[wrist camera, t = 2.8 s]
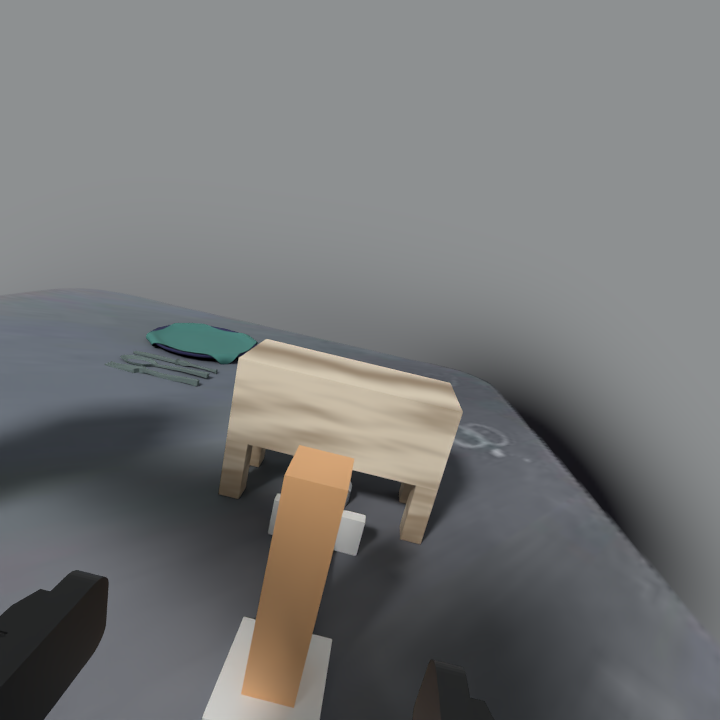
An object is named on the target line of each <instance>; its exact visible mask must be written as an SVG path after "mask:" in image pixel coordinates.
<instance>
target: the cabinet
mask: <svg viewBox="0 0 720 720" xmlns="http://www.w3.org/2000/svg"><path fill="white" fill-rule="evenodd" d="M462 413H463V411H462V409H461V407H460V405H459V402H458V400H457V398H456V395H455V393H454V391H453V388H452V386H451V384H450V383H448V382H443V381H439V380H435V379H431V378H427V377H423V376H418V375H414V374H410V373H406V372H402V371H398V370H394V369H389V368H385V367H381V366H377V365H373V364H369V363H364V362H360V361H356V360H352V359H348V358H344V357H339V356H335V355H331V354H327V353H323V352H319V351H315V350H310V349H306V348H302V347H298V346H294V345H290V344H285V343H281V342H277V341H273V340H269V339H266V340H264V341H263V342H261V343H260V344H258V345H257V346H255V347H254V348H252V349H251V350H250V351H248V352H247V353H245V354H244V355H242V356H241V357H239V359H238V366H237V373H236V379H235V386H234V393H233V400H232V406H231V413H230V420H229V426H228V433H227V440H226V447H225V453H224V460H223V467H222V473H221V480H220V487H219V493H218V494H220V495H224V496H228V497H232V498H236V499H239V497H240V496H241V494H242V493H243V491H244V490H245V488H246V483H247V477H248V471H249V465H251V466H255V467H259V466H260V464H261V462H262V461H263V459H264V456H265V450H266V449H269V450H273V451H277V452H281V453H285V454H289V455H293V456H294V455H295V453H296V451H297V449H298V447H299V445H302V446H306V447H310V448H314V449H318V450H322V451H326V452H330V453H334V454H338V455H342V456H347V457H351V458H354V464H353V469H352V470H354V471H358V472H362V473H367V474H371V475H375V476H379V477H383V478H387V479H391V480H395V481H399V482H402V483H401V487H400V490H399V502H401V503H405V504H406V507H405V510H404V513H403V517H402V520H401V523H400V539H401V540H405V541H409V542H413V543H417V544H421V541H422V538H423V535H424V532H425V529H426V526H427V522H428V519H429V516H430V513H431V510H432V507H433V504H434V501H435V497H436V494H437V491H438V488H439V485H440V482H441V479H442V475H443V472H444V469H445V466H446V463H447V460H448V457H449V454H450V450H451V447H452V444H453V441H454V438H455V435H456V432H457V429H458V425H459V422H460V419H461V416H462Z"/></svg>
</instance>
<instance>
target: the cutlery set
mask: <svg viewBox="0 0 720 720" xmlns="http://www.w3.org/2000/svg"><path fill="white" fill-rule="evenodd" d="M146 338H147V339H148V341H149V342H150V343H151V344H152V346H157V345H158V346H160V347H162V348H164V349H166V350H169V351H172V352H175V353H178V354H182V355H187V356H193V357H201V358H215V359H216V360H217V361H218V362H219V363H220V364H229V363H231V362H232V361H233V360H234V359H235V358H236V357H241V356H242V355H244V354H245V353H247V352H248V351H250V350H251V349H252V348H254V347H255V346H257V343H258V342H257V341H256V340H254V339H252V337H250V336H248V335H246V334H243V333H238V332H235V331H231V330H228V329H223V328H218V327H213V326H208V325H205V324H196V323H174V324H172V325H168V326H164V327H159V328H156V329H154V330H153V331H151V332H149V333H148V334H147V336H146ZM134 354H138V355H142V356H146V357H142V356H136V355H122V356H120V357H121V358H122V359H123V360H125V361H126V362H127V363H130V364H133V365H127V364H119V363H115V362H112V361H111V362H110V363H109V362H108V364H105V365H107V366H111V367H114V368H118V369H121V370H125V371H128V372H132V373H137V372H139V373H147V374H151V375H153V376H156V377H160V378H164V379H168V380H172V381H177V382H183V383H187V384H191V385H193V386H198V385H199V380H198V379H192V378H187V377H180V376H173V375H167V374H162V373H159V372H156V371H153V370H149V369H146V366H154V367H161V368H166V369H171V370H177V371H182V372H186V373H190V374H194V375H197V376H201V377H204V378H207V377H209V373H208V372H202V371H196V370H191V369H186V368H181V367H172V366H166V365H158V364H157V362H156V361H154V360H153V359H150V358H155V359H159V360H163V361H167V362H171V363H175V365H178V364H180V365H181V366H192V367H197V368H201V369H205V370H208V371H211V372H215V374H217V370H218V369H217V370H214V369H209V368H204V367H201V366H198V365H194V364H191V363H189V362H187V361H180V359H177V360H173V359H170V358H166V357H162V356H158V355H154V354H150V353H146V352H138V351H134ZM147 357H150V358H147ZM127 359H139V360H145V361H148V362H150V363H151V364H139V363H133V362H130V361H127ZM112 363H113V364H112ZM109 364H110V365H109ZM134 365H138V366H134ZM142 366H144V367H142Z"/></svg>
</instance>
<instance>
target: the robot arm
mask: <svg viewBox="0 0 720 720" xmlns="http://www.w3.org/2000/svg"><path fill="white" fill-rule="evenodd" d="M107 599H108V579H107V578H106V577H103V576H99V575H95V574H91V573H87V572H83V571H79V570H75V571H72V572H71V573H69V574H68V575H67V576H66V577H65V578H64V579H63V580H62V581H61V582H60V583H59V584H58V585H57V586H56V587H55V588H54V589H52V590H51V591H46V590H42V589H40V590H38V591H36V592H34V593H33V594H31V595H29V596H27V597H26V598H24V599H22V600H20V601H19V602H17V603H15V604H13V605H12V606H11V607H10V608H8V609H7V610H6V611H5V612H4V613H3V614H2V615H1V616H0V720H44V719H45V717H46V716H47V715H48V713H49V712H50V711H51V709H52V708H53V707H54V705H55V704H56V703H57V701H58V700H59V699H60V697H61V696H62V695H63V693H64V692H65V691H66V689H67V688H68V687H69V685H70V684H71V683H72V681H73V680H74V679H75V677H76V676H77V675H78V673H79V672H80V671H81V669H82V668H83V667H84V665H85V664H86V663H87V661H88V660H89V659H90V657H91V656H92V655H93V653H94V652H95V650H96V648H97V647H98V645H99V643H100V641H101V638H102V636H103V633H104V630H105V626H106V615H107ZM412 720H494V719H493V717H492V715H491V713H490V711H489V709H488V707H487V705H486V703H485V701H481V700H477V699H473V698H470V695H469V690H468V684H467V678H466V674H465V671H464V669H463V667H461V666H457V665H453V664H449V663H445V662H441V661H437V660H433V659H432V660H431V661H430V662H429V665H428V667H427V670H426V673H425V676H424V679H423V682H422V685H421V688H420V691H419V693H418V696H417V699H416V702H415V706H414V711H413V717H412Z"/></svg>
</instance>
